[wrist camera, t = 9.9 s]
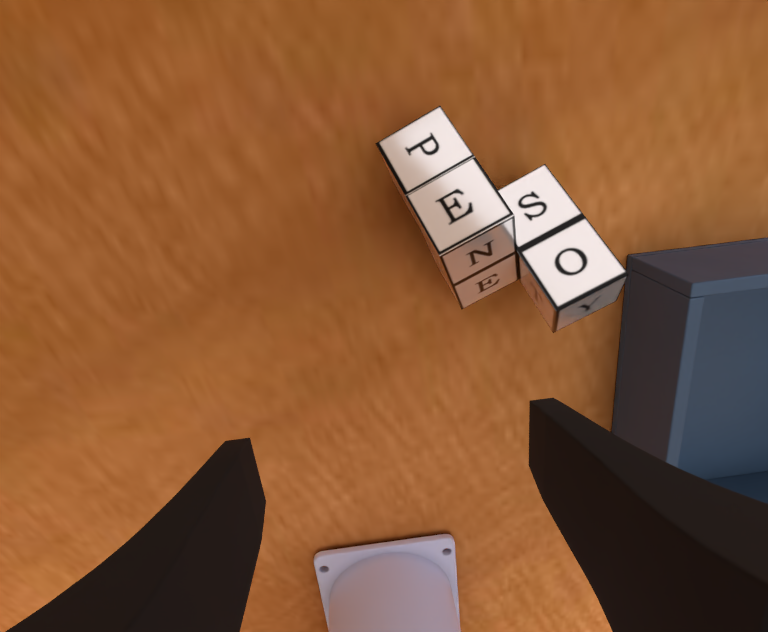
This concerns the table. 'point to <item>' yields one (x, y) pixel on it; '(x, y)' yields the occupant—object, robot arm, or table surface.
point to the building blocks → (499, 226)
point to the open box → (698, 362)
